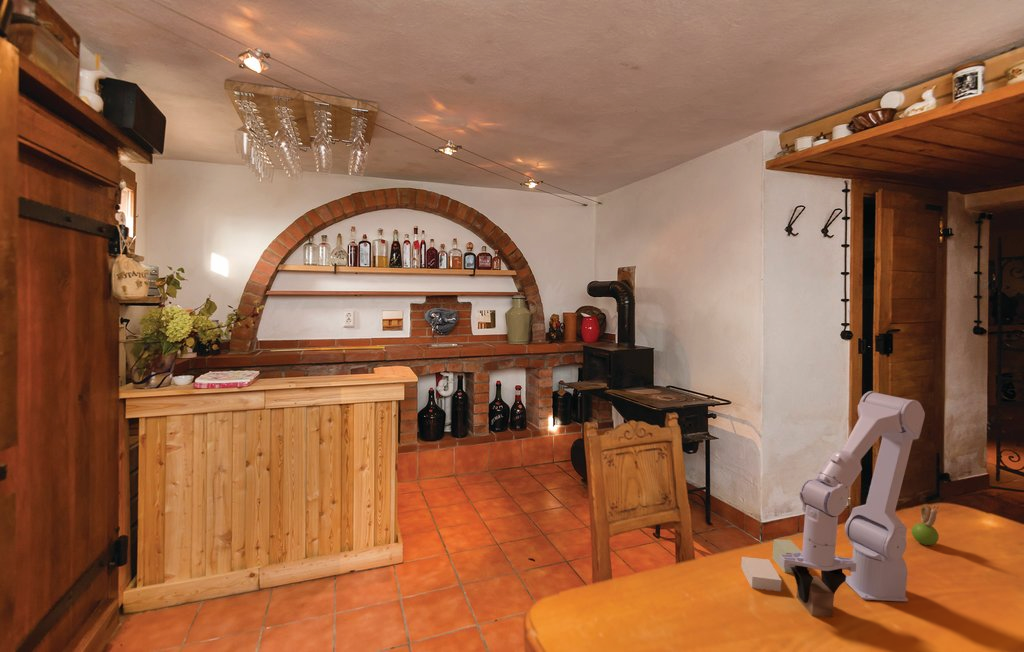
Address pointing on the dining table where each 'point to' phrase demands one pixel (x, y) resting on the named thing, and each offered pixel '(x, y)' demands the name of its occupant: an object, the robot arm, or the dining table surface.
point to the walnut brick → (819, 599)
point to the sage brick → (784, 551)
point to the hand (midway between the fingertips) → (814, 600)
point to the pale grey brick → (761, 574)
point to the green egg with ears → (926, 527)
